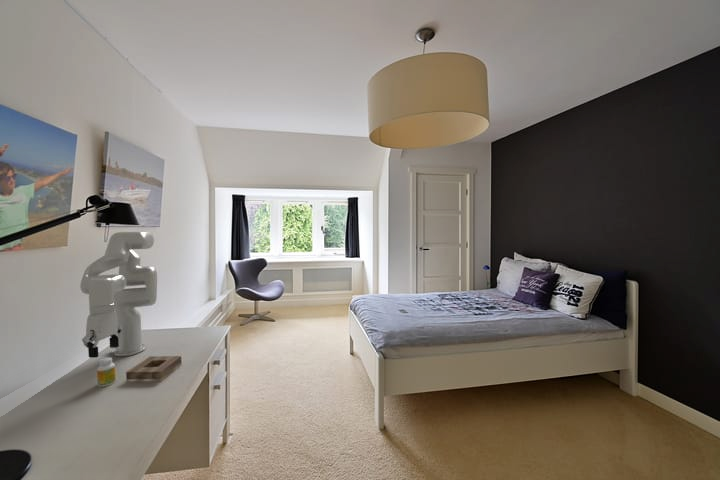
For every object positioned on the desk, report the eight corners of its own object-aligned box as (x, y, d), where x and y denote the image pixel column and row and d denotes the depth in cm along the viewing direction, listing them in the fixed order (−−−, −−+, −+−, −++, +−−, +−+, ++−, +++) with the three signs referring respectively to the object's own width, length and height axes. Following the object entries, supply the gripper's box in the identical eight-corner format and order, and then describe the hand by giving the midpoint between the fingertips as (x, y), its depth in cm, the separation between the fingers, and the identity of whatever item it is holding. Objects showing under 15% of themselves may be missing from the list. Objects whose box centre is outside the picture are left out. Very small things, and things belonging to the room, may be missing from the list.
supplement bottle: (105, 387, 116) (103, 363, 115) (94, 386, 117) (92, 362, 116) (119, 380, 121) (117, 357, 121) (108, 379, 122) (107, 356, 122)
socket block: (126, 381, 120) (126, 372, 120) (150, 365, 134) (149, 356, 134) (161, 381, 120) (161, 371, 120) (181, 364, 134) (181, 356, 134)
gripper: (110, 303, 126) (112, 343, 126) (71, 315, 108) (74, 361, 109) (128, 303, 126) (130, 343, 126) (92, 315, 108) (94, 361, 109)
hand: (104, 351), depth 118 cm, fingers open, 9 cm apart
